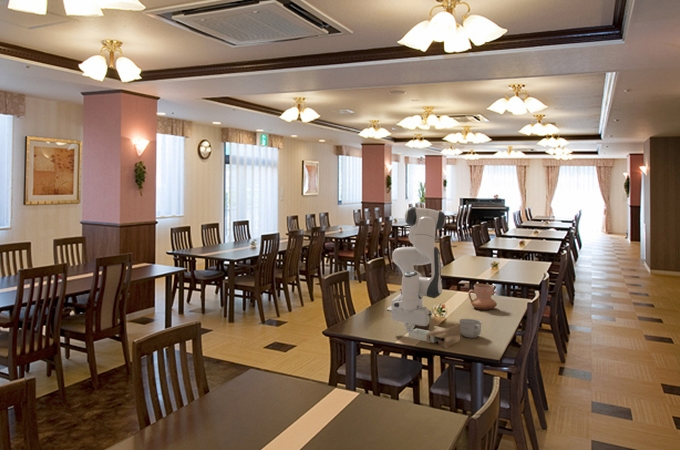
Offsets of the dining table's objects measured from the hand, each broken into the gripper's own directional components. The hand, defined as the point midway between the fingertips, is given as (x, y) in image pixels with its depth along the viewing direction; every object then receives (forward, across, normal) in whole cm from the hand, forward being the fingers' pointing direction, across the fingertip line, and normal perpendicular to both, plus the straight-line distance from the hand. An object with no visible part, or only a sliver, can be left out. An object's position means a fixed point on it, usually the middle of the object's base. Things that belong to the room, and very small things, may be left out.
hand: (409, 331), depth 258 cm
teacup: (+2, -26, -16) cm, 31 cm away
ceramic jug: (+2, -6, -78) cm, 78 cm away
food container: (+2, +1, -14) cm, 14 cm away
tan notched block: (+2, -16, 0) cm, 16 cm away
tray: (+2, -8, 0) cm, 9 cm away
